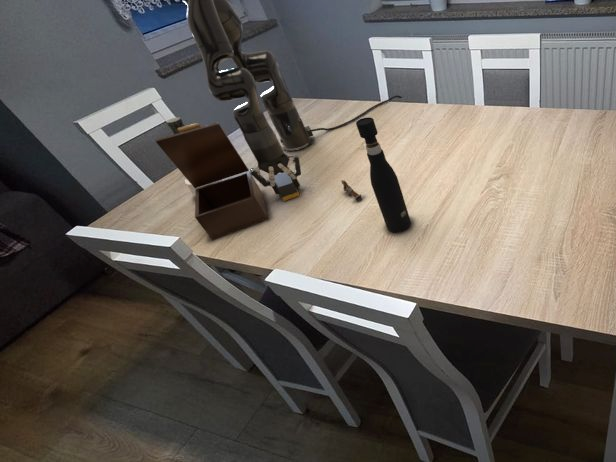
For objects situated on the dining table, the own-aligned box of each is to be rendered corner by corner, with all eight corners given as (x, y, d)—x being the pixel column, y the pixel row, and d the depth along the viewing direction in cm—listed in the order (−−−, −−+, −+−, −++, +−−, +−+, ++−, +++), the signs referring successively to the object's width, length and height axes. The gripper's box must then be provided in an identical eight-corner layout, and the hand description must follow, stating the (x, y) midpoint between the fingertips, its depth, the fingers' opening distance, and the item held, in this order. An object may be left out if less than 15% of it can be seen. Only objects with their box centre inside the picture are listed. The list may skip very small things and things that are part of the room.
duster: (294, 183, 128) (288, 170, 125) (299, 195, 122) (292, 182, 119) (279, 188, 127) (272, 175, 123) (283, 201, 121) (276, 188, 118)
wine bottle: (388, 219, 110) (352, 116, 90) (411, 216, 110) (381, 113, 90) (385, 234, 105) (347, 129, 85) (410, 231, 105) (376, 125, 85)
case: (268, 219, 115) (254, 197, 110) (211, 239, 110) (194, 217, 105) (262, 192, 126) (249, 171, 121) (210, 210, 121) (195, 188, 116)
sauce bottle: (207, 179, 136) (171, 125, 123) (192, 178, 137) (155, 125, 125) (221, 168, 141) (187, 115, 128) (206, 168, 142) (172, 115, 129)
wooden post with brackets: (345, 186, 123) (344, 177, 119) (362, 203, 121) (361, 194, 117) (340, 189, 122) (338, 180, 118) (357, 206, 120) (356, 197, 116)
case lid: (218, 123, 107) (215, 112, 109) (155, 141, 102) (153, 129, 104) (249, 170, 121) (245, 159, 123) (194, 188, 116) (192, 176, 118)
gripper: (236, 155, 108) (266, 205, 119) (291, 138, 113) (314, 188, 124) (235, 145, 113) (263, 194, 124) (287, 129, 118) (310, 177, 129)
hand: (289, 190), depth 124 cm, fingers closed on duster, 4 cm apart
